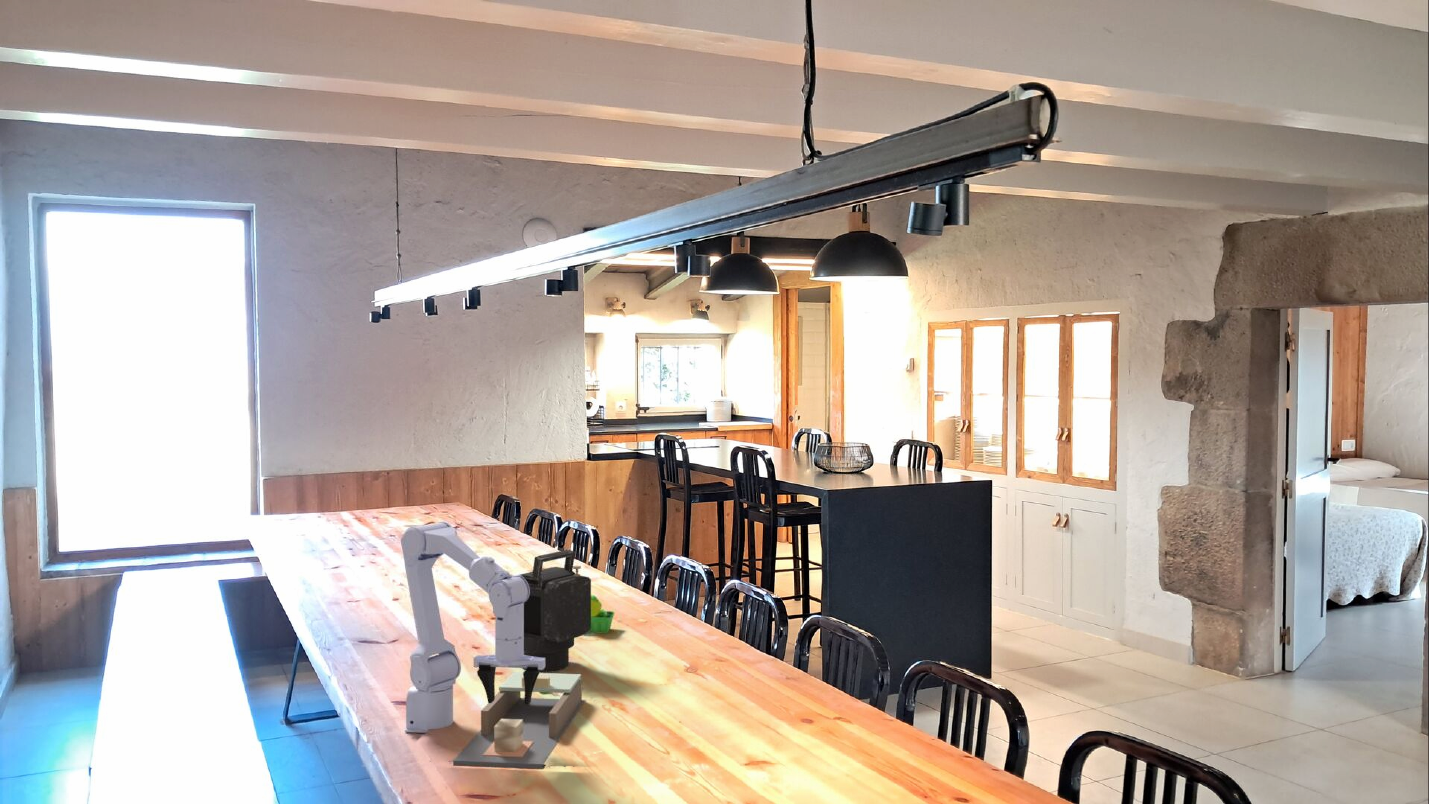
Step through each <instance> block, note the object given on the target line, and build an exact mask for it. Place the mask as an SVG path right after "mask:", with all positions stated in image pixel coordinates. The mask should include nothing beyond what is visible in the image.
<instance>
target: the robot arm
mask: <svg viewBox="0 0 1429 804" xmlns="http://www.w3.org/2000/svg"><path fill="white" fill-rule="evenodd" d="M457 532H458V531H457V529H456V528H455V527H453V526H452V525H451V524H450V523H449V522H448V521H440V522H436V523H429V524H426V525H419V526H409V527H407V529H406V530H405V531H404V533H403V535H402V537H401V538H400V544H401V550H402V556H403V559H404V567H405V568H404V569H405V575H406V579H407V586H408V590H409V596H410V602H411V608H412V613H413V620H414V624H415V630H416V636H417V641H418V645H417V646H416V648H415V649H414V651H413V652H412V653H411V655H409V660H410V670H409V677H410V681H411V683H412V684H413V685H412V686H410V687H409V689H408V691H407V694H406V699H405V700H406V701H405V721H406V722H405V723H406V724H405V725H406V726H405V729H404V732H405V733H422V734H423V733H424V734H426V733H428V731H430V730H435V729H443V728H446V727H449V726H451V725H452V724H454V685H456V684H457V683H456V682H457V681H456V680H457V679H458V678H459V676H460V675H461V671H462V664H461V660H460V658H459V656H458V654H457V651H456V647H455V645H454V644H453V643H452V642H450V641H448V640H447V639H446V638H445V635H444V630H443V624H442V619H441V613H440V608H439V607H440V606H439V602H438V596H437V591H436V584H435V580H434V574H433V566H434V565H435V564H436V562H437V560H438V559H440V558H441V557H442V556H443V555H445V556H447V557H449V558H450V559H452V560H453V561H454V562H456V563H457V564H459V565H460V566H461V567H463V568H465V570H467V571H468V577H469V579H470V580H471V581H472V582H473V583H474V584H476V585H477V586H478V587H480V589H482V590H483V591H484V592H485V593H487V595H488V599H489V602H490V604H491V606H492V613H493V616H494V619H495V620H494V622H495V623H494V628H495V629H494V630H495V631H494V633H495V634H494V654H484V655H483V654H482V655H480V654H479V655H475V656H474V657H473V668H478V670H477V671H476V674H477V676H478V678H479V679H480V681H481V683H482V686H483V689H484V690H485V694H486V698H487V704H488V703H492V702H493V701H494V699H495V696H496V695H495V694H496V690H495V681H496V680H495V679H496V670H497V668H512V669H513V668H515V669H522V668H527V670H524V673H523V677H524V685H525V692H524V696H523V698H524V702H525V705H528V704H529V703H530V702H531V698H532V696H533V693H534V692H533V688H534V685H535V682H536V680H537V677H538V675H539V673H540V671H541V670H543V669H544V668H545V658H539V657H533V656H526V655H524V602H526V601H527V600H528V598H529V595H530V588H529V585H528V582H527V581H526V580H525V579H524V578H523V576H521V575H520V574H516V575H513V574H510V572H509V571H508V570H505V569H504V568H503V567H501V566H500V565H499V564H498V563H496V562H495V559H494V558H493V557H492V556H490V557H488V556H483V557H480V556H479V555H478V554H477V553H475V551H474V550H473V549H472V548H471V547H470V546H469V545H468V544H467V543H465V542H464V541H463V540H462V539H461V538H460V537H459V536H458V533H457Z"/></svg>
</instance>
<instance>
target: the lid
mask: <svg viewBox="0 0 1429 804" xmlns="http://www.w3.org/2000/svg"><path fill="white" fill-rule="evenodd" d="M523 673H524V672H521V671H520V672H519V671H518V672H517V671H513V672H512V673H511V674H510V675H508V677H507V678H506V679H505V680H504V681H503V682H502V683H501V684H500V685H499V686H498V692H499V691H520V692H524V693H525V685H524V677H523ZM580 678H582V674H581V673H577V674H576V673H555V672H546V673H539V675H538V677H537V680H536V682H535V685H534V688H533V692H532V693H539V692H552V693H557V694H559V693H560V694H564V693H570V692H571V691H572V689H573V688H574V687H575V685H576V684H577V683H578V681H579V680H580ZM552 693H551V694H552Z"/></svg>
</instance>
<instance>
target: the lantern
mask: <svg viewBox="0 0 1429 804" xmlns="http://www.w3.org/2000/svg"><path fill="white" fill-rule="evenodd" d="M575 556H576V552H575V551H573V550H571V549H565V550H559V551H556V552H551V553H546V554H541V555H537V556H534V559H533V560H534V561H533V567H532V571H530V572H526V573H519V575H521V576H523V578H524V579H525V580H526V581H527V582H528V585H529V588H530V595H529V598H528V600H527V601H526V602H524V655H526V656H533V657H539V658H545V668H544V669H543V670H541V671H540V673H555V672H560V671H563V670H564V669H566V667H567V668H568V667H569V665H570V664H569V662H570V661H569V659H570V656H569V654H570V651H569V650H570V649H572V648H573V647H574V646H575V638H578V637H582V636H583V635H586V634H589V633H588V632H589V631H590V629H591V595H592V580H591V578H590V576H583V575H581V574H579V570H580V569H582V566H581V565H574V563H575V562H574V561H575ZM559 559H564V567H559V566H553V567H552V566H551V567H548V568H543V566H544V565H543V564H544V563H545V562H546V563H547V562H550V561H555V560H559ZM573 570H575V572H574V571H573ZM521 669H523V670H524V671H525V670H527V668H521ZM559 670H560V671H559Z"/></svg>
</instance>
